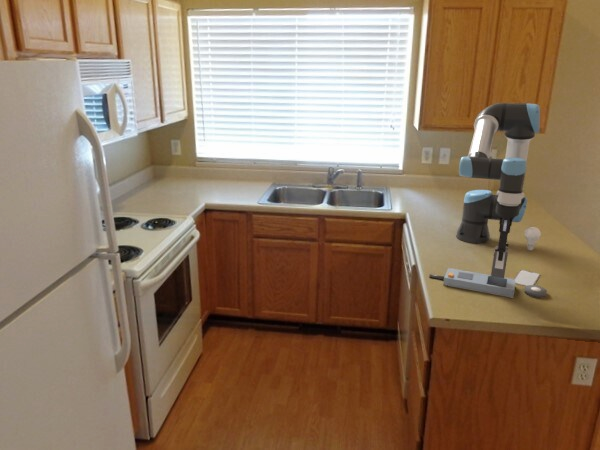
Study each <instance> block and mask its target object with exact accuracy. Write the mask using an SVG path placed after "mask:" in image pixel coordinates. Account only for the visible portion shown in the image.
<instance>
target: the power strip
mask: <svg viewBox="0 0 600 450" xmlns="http://www.w3.org/2000/svg"><path fill="white" fill-rule="evenodd" d="M429 278H433V279H437V278H438V280H443V284H442V285H443V286H447V285H448V287H453V288H458V289H464V290H470V291H475V292H480V293H485V294H491V295H497V296H502V297H508V298H512V299H513V298H514V296H515V288H516V284H515V279H514V278H510V277H505V276H504V278H499V277H493V276H491V274H488V273H487V274H486V273H480V272H475V271H469V270H468V271H467V270H463V269H462V270H461V269H457V268H452V267H451V268H450V267H447V270H446V272H445V275H444V276H442V275H439V274H438V275H436V274H432V273H429Z"/></svg>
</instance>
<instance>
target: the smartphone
mask: <svg viewBox="0 0 600 450" xmlns="http://www.w3.org/2000/svg"><path fill="white" fill-rule="evenodd" d="M540 277H541V274H540V273H539V272H538V273H537V272H534V271H530V270H525V269H520V270H519V272H518V273H517V274H516V276H515V277H514V278H513V279H515V285H519V286H524V287H526V286H528V285H535V284H536V283H537V281H538V280H539V278H540Z"/></svg>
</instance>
